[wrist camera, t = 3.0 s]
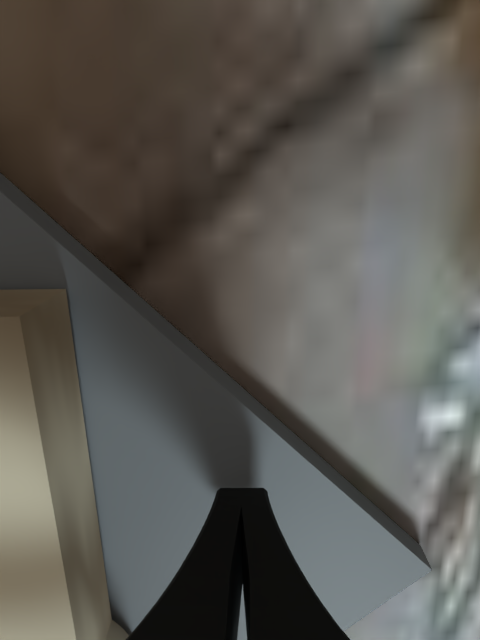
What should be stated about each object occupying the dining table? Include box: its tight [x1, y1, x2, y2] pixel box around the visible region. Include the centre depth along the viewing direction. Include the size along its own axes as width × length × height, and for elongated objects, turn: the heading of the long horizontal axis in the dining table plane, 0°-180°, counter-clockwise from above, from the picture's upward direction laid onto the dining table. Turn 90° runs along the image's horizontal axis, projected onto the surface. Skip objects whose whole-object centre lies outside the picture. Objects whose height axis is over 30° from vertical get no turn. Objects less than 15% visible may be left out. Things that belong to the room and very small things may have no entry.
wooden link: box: [0, 289, 129, 640], centre depth 12 cm, size 15×4×4 cm, turn 1°
